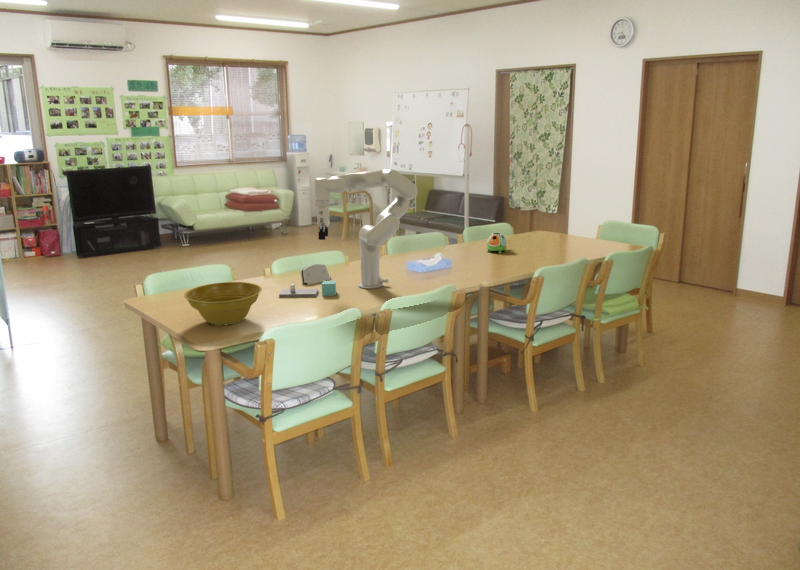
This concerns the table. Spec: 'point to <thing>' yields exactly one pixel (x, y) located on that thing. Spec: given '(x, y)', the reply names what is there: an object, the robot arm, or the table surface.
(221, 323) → the planter bowl
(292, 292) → the base plate
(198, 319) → the table surface
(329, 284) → the housing
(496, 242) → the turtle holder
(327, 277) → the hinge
